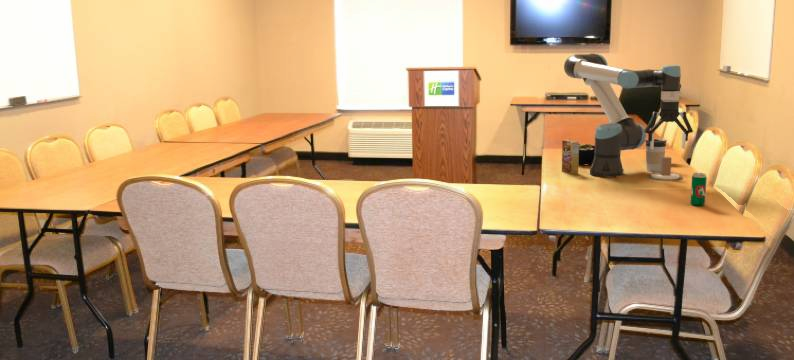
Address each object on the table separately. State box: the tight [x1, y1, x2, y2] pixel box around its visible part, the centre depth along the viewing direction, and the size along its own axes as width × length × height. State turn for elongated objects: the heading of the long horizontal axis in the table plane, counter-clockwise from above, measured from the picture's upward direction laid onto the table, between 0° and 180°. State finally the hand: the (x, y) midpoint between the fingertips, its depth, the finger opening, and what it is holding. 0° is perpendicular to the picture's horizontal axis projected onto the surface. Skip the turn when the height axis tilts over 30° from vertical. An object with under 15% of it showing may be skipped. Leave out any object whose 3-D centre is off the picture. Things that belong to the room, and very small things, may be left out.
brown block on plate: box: [650, 156, 681, 181], centre depth 304 cm, size 12×12×9 cm
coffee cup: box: [645, 138, 667, 173], centre depth 321 cm, size 9×9×15 cm
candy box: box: [561, 139, 580, 175], centre depth 323 cm, size 9×4×15 cm, turn 17°
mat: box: [646, 174, 684, 182], centre depth 305 cm, size 15×15×1 cm
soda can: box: [689, 172, 708, 207], centre depth 255 cm, size 5×5×12 cm
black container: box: [579, 143, 595, 166], centre depth 346 cm, size 17×17×10 cm
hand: (667, 148), depth 302 cm, fingers open, 13 cm apart
